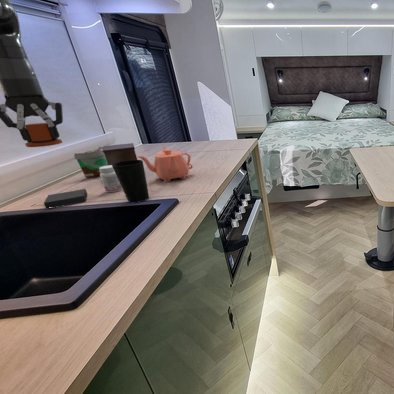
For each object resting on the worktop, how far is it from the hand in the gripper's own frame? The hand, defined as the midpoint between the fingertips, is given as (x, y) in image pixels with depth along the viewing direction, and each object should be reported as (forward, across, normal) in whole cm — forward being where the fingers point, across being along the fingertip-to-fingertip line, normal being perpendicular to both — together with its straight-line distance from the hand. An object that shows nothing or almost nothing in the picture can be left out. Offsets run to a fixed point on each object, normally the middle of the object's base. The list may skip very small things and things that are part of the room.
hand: (43, 140), depth 84 cm
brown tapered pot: (+19, -16, -19) cm, 31 cm away
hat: (+1, 0, 0) cm, 1 cm away
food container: (+19, -8, -29) cm, 36 cm away
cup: (+19, -18, +12) cm, 29 cm away
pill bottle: (+19, -12, -3) cm, 23 cm away
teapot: (+20, -29, -6) cm, 35 cm away
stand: (+19, 0, 0) cm, 19 cm away
